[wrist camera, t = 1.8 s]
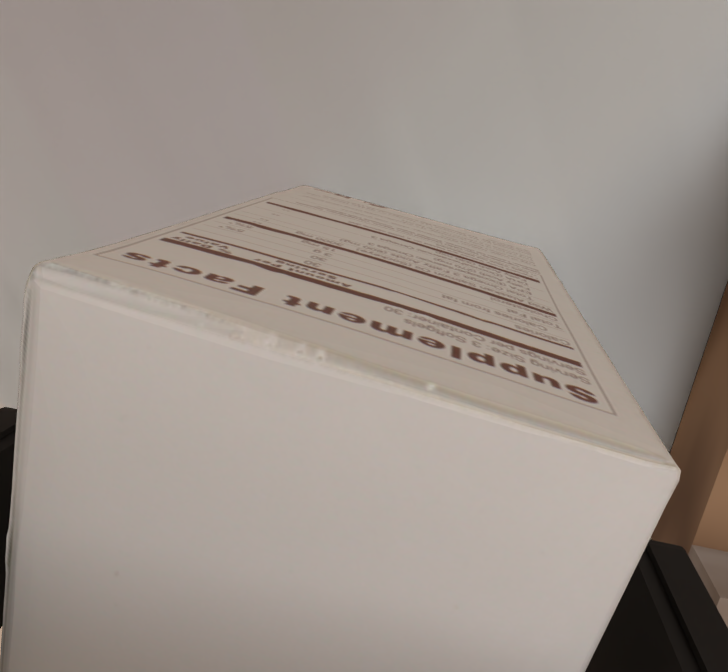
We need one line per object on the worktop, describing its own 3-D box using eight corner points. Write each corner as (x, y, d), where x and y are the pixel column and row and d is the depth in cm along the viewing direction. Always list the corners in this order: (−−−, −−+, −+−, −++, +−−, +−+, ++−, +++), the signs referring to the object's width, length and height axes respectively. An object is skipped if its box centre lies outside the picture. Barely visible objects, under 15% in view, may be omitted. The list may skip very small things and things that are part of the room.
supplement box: (469, 464, 20) (471, 932, 9) (250, 396, 21) (-34, 751, 9) (550, 244, 18) (715, 477, 6) (300, 172, 18) (-3, 256, 6)
